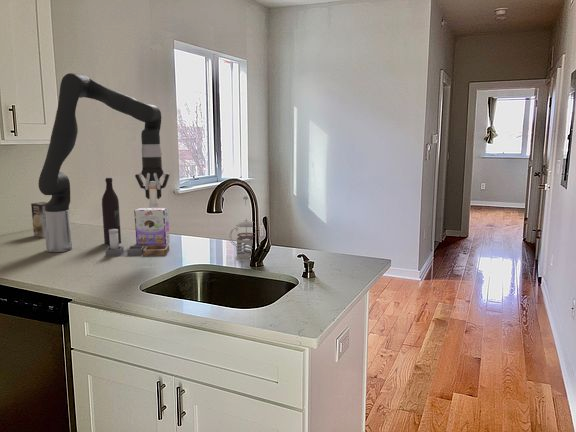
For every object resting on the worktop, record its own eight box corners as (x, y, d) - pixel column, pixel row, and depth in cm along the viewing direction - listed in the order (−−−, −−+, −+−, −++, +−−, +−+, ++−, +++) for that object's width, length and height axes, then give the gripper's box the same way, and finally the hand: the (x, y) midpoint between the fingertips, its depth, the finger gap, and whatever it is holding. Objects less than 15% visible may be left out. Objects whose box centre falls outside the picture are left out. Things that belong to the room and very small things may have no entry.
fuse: (109, 255, 200) (107, 230, 199) (111, 252, 204) (109, 229, 202) (118, 254, 201) (116, 230, 199) (120, 252, 204) (119, 228, 202)
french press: (255, 261, 192) (254, 198, 188) (226, 260, 195) (225, 197, 190) (261, 255, 202) (260, 194, 198) (234, 254, 204) (233, 194, 200)
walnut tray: (143, 257, 199) (142, 250, 199) (147, 252, 208) (146, 245, 208) (166, 257, 200) (166, 249, 199) (169, 251, 209) (169, 244, 208)
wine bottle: (117, 246, 219) (113, 178, 214) (102, 246, 219) (97, 178, 214) (123, 242, 226) (119, 177, 221) (108, 242, 226) (103, 177, 221)
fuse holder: (104, 258, 198) (104, 250, 197) (110, 253, 206) (109, 245, 206) (141, 257, 199) (141, 249, 199) (145, 252, 208) (145, 244, 207)
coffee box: (33, 235, 242) (30, 203, 239) (45, 233, 247) (42, 201, 244) (44, 237, 237) (41, 204, 234) (56, 235, 242) (53, 203, 240)
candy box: (170, 243, 224) (168, 207, 222) (165, 246, 219) (164, 209, 216) (140, 243, 226) (139, 207, 223) (135, 245, 220) (133, 209, 217)
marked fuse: (148, 207, 199) (147, 182, 197) (150, 206, 202) (149, 181, 200) (158, 207, 199) (156, 182, 197) (159, 206, 202) (158, 181, 201)
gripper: (131, 156, 193) (134, 200, 196) (168, 156, 194) (170, 199, 197) (135, 155, 200) (137, 197, 203) (170, 155, 202) (172, 197, 204)
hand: (153, 198), depth 200 cm, fingers closed on marked fuse, 3 cm apart
